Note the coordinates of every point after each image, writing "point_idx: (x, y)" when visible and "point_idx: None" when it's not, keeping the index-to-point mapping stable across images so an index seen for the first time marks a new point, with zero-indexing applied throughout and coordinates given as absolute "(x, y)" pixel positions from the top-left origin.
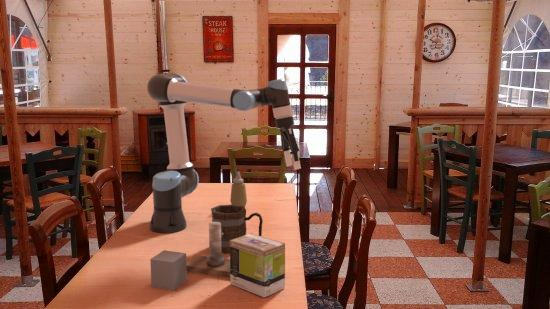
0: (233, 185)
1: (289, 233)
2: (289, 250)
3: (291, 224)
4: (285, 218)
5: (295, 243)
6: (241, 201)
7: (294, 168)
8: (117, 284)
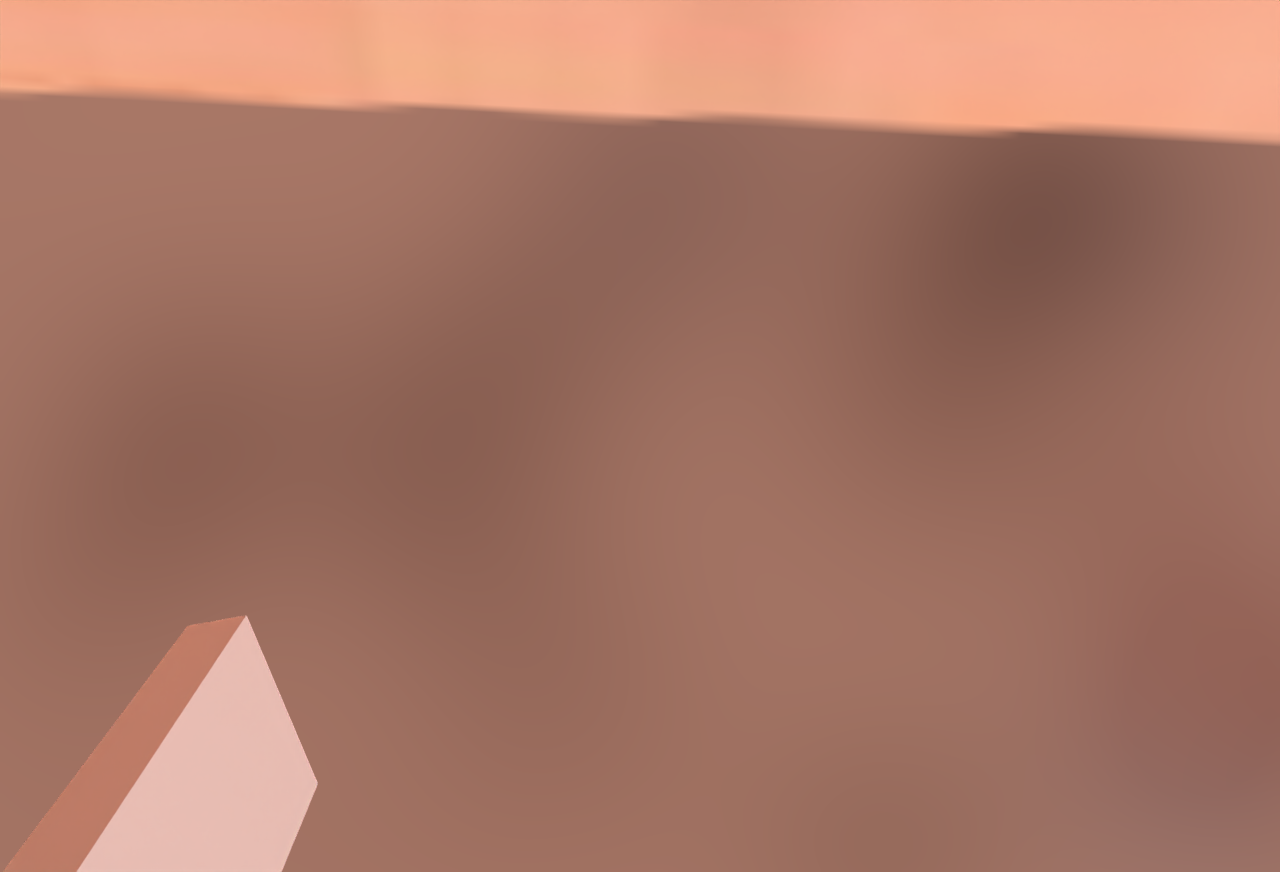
0: None
1: (547, 36)
2: (3, 2)
3: (880, 82)
4: (1148, 16)
5: (229, 84)
6: None
7: (169, 655)
8: None
